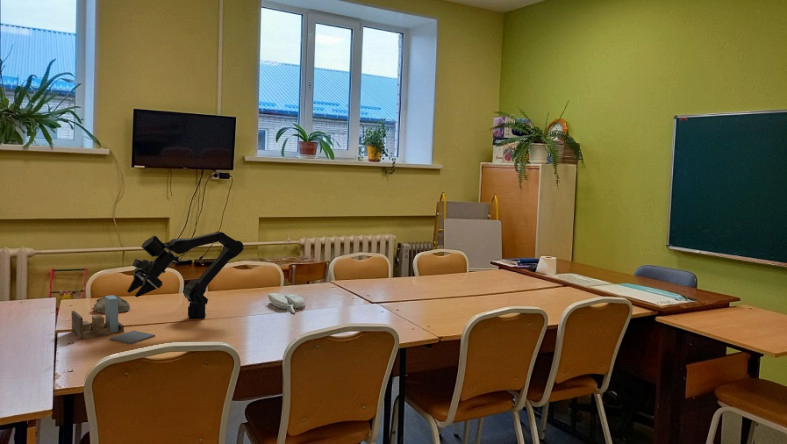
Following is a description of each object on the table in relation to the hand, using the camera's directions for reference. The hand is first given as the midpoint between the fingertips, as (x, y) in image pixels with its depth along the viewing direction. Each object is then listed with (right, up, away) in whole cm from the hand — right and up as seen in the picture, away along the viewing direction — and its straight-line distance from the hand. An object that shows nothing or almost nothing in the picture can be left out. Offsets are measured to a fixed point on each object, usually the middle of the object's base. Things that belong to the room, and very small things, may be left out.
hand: (131, 294), depth 227 cm
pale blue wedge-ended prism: (-6, -13, -4) cm, 15 cm away
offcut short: (-13, -14, -10) cm, 22 cm away
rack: (-10, -14, -7) cm, 18 cm away
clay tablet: (-22, -10, +29) cm, 38 cm away
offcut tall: (-10, -14, -7) cm, 18 cm away
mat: (+6, -15, -12) cm, 20 cm away
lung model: (+54, -12, +41) cm, 69 cm away
